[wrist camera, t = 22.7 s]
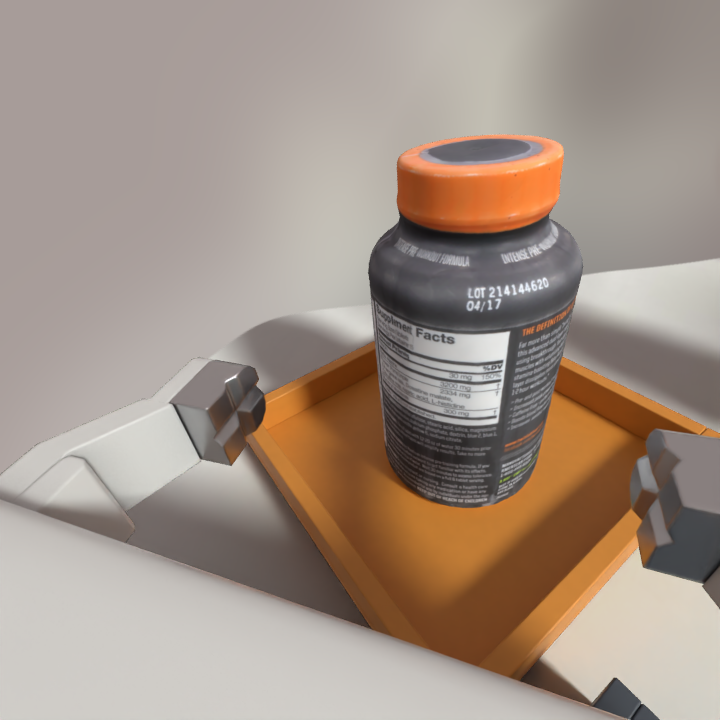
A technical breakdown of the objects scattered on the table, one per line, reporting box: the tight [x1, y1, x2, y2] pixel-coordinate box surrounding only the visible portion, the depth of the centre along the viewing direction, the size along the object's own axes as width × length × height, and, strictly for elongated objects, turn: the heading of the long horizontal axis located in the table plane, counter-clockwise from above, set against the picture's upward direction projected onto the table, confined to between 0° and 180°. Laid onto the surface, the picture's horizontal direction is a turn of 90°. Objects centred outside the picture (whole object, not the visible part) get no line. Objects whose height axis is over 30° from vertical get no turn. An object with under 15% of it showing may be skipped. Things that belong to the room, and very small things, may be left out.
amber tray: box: [246, 341, 720, 681], centre depth 17 cm, size 13×13×2 cm
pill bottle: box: [368, 135, 583, 508], centre depth 14 cm, size 6×6×11 cm
